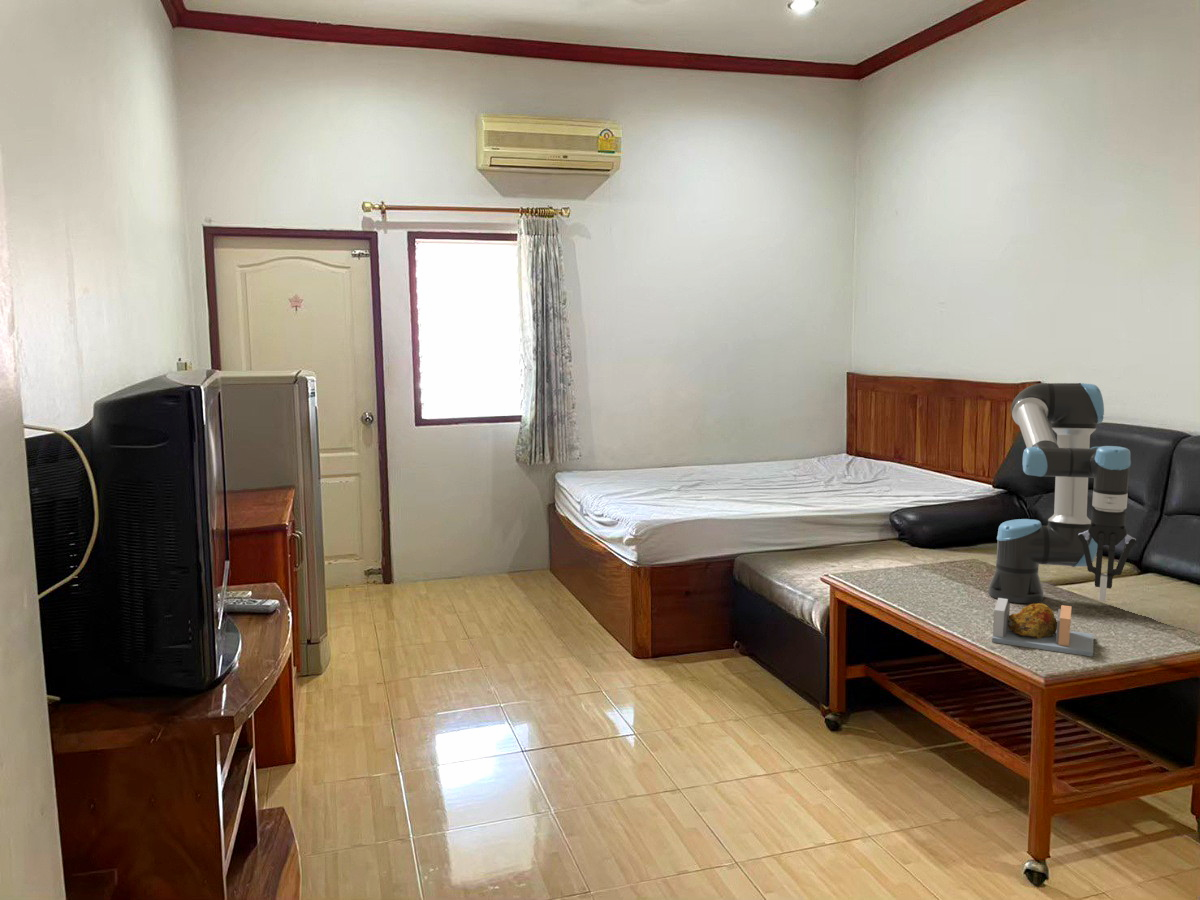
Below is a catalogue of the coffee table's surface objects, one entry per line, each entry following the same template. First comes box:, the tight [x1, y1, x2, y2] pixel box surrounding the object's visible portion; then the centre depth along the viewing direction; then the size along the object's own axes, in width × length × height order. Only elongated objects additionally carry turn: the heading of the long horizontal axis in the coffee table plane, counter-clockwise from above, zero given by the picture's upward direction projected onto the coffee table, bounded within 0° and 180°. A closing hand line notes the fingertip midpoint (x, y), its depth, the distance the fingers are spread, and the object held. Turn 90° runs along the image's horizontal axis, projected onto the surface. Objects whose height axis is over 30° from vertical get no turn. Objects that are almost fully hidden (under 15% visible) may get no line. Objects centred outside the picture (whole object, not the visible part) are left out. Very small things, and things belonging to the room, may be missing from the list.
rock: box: [1008, 602, 1057, 638], centre depth 235 cm, size 11×8×10 cm
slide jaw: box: [1056, 604, 1072, 646], centre depth 231 cm, size 12×3×7 cm, turn 152°
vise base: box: [991, 598, 1094, 657], centre depth 233 cm, size 15×23×8 cm, turn 62°
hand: (1102, 599), depth 227 cm, fingers closed
